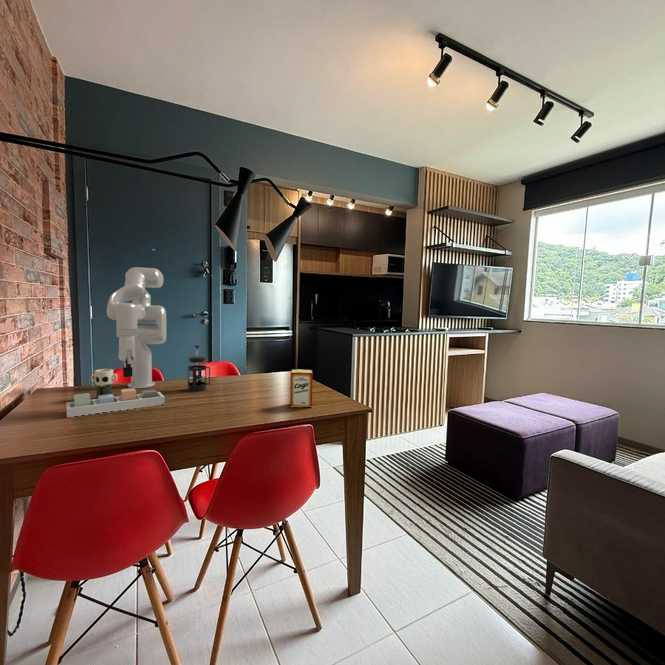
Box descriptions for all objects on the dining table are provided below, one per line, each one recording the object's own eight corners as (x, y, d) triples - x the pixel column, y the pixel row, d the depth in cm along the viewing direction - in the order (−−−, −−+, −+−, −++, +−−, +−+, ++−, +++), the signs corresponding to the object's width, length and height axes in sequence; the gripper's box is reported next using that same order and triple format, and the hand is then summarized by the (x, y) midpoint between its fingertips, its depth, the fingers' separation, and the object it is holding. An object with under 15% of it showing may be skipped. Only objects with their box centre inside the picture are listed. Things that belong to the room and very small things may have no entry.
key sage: (74, 404, 139) (73, 394, 139) (89, 402, 142) (89, 392, 142) (74, 407, 135) (74, 397, 135) (90, 405, 139) (90, 395, 138)
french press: (183, 391, 175) (183, 346, 173) (189, 387, 184) (189, 343, 183) (207, 392, 176) (207, 346, 174) (212, 387, 185) (212, 344, 184)
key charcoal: (142, 399, 154) (142, 390, 154) (154, 398, 157) (154, 389, 157) (144, 402, 150) (144, 393, 150) (157, 400, 153) (157, 391, 153)
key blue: (98, 405, 144) (98, 395, 144) (112, 403, 148) (112, 394, 147) (99, 408, 140) (99, 398, 140) (114, 406, 144) (114, 396, 143)
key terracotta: (120, 398, 149) (120, 389, 149) (134, 397, 152) (134, 388, 152) (122, 401, 145) (122, 392, 145) (136, 399, 148) (136, 390, 148)
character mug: (87, 400, 155) (86, 371, 154) (95, 396, 162) (94, 368, 161) (114, 400, 157) (113, 371, 156) (120, 396, 164) (120, 368, 163)
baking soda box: (311, 403, 161) (312, 369, 160) (311, 408, 154) (312, 372, 153) (290, 403, 160) (291, 369, 159) (290, 408, 153) (290, 371, 152)
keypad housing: (66, 411, 140) (66, 402, 140) (159, 399, 161) (159, 391, 161) (66, 418, 132) (66, 408, 132) (164, 404, 153) (164, 396, 153)
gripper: (114, 331, 150) (115, 374, 151) (119, 334, 138) (119, 380, 140) (134, 331, 155) (135, 372, 156) (140, 334, 143) (141, 378, 144)
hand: (127, 376), depth 148 cm, fingers closed
